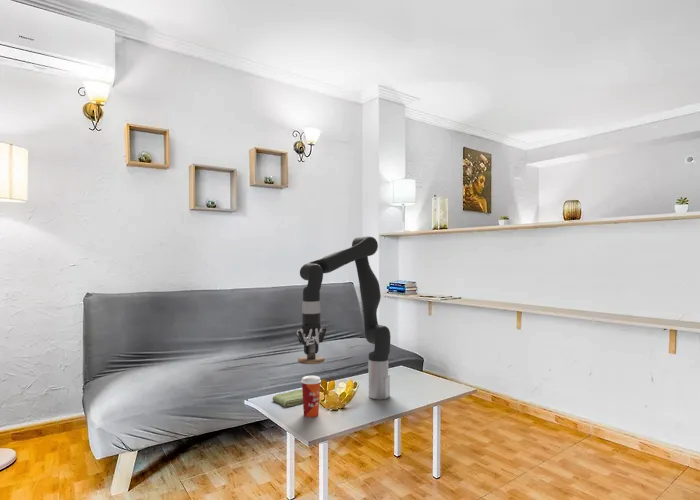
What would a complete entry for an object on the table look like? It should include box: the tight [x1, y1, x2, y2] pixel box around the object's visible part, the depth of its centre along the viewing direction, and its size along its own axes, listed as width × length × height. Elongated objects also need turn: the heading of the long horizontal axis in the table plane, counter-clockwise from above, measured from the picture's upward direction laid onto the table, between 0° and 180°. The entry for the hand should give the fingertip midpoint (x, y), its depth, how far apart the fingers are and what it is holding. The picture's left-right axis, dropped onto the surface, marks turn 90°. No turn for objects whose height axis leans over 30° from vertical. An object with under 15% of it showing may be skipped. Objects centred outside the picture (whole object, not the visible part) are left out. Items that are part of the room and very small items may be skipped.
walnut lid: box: [297, 342, 326, 365], centre depth 173 cm, size 11×11×7 cm
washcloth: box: [272, 389, 303, 408], centre depth 190 cm, size 13×18×3 cm
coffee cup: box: [300, 375, 322, 418], centre depth 172 cm, size 8×8×15 cm
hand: (311, 353), depth 173 cm, fingers closed on walnut lid, 3 cm apart
